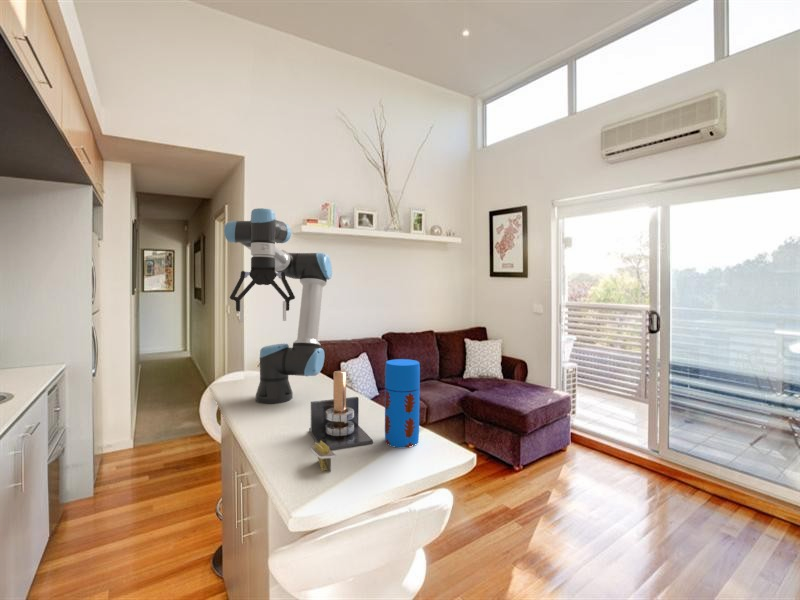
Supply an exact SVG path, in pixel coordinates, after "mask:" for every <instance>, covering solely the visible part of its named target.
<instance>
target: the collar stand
mask: <svg viewBox="0 0 800 600" xmlns="http://www.w3.org/2000/svg"><path fill="white" fill-rule="evenodd" d="M359 400H360V399H359V397H358V396H353V397H346V413H341V414H336V413H333V399H326V400H325V399H324V400H315V401H310V427H309V428H308V431H309V433H310V435H311V436H312V438H313V440H314V441H315V442H316V443H320V441H322V442H323V443H325V444H326V445H327V446H328V447H329V449H330V450H331V451H333V450H338V449H345V448H346V447H347V448H351V447H357V446H358V445H359V446H363V445H364V444H365V445H371V444H373V443H374V439H372V438H371V436H370V435H368V433H367V432H366V431H365V430H363V428H362V427H361V426H360V425H359V411H360V410H359V402H360V401H359ZM333 421H335V422H342V421H346V427H342V428H335V427H333ZM370 443H371V444H370Z"/></svg>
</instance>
